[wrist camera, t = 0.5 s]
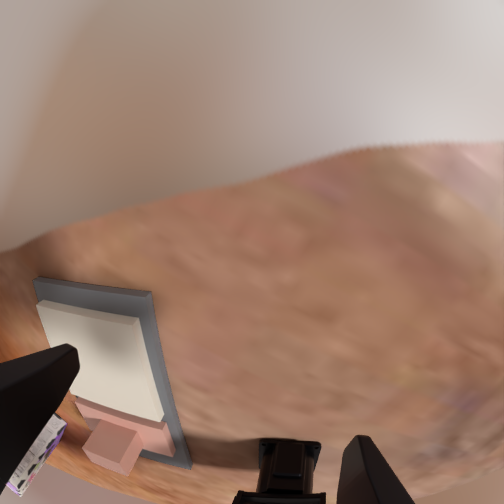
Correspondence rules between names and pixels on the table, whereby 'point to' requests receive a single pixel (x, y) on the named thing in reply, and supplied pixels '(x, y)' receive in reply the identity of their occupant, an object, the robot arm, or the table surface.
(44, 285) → the mat
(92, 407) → the stub
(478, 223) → the table surface
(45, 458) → the candy box
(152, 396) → the spiral notepad
